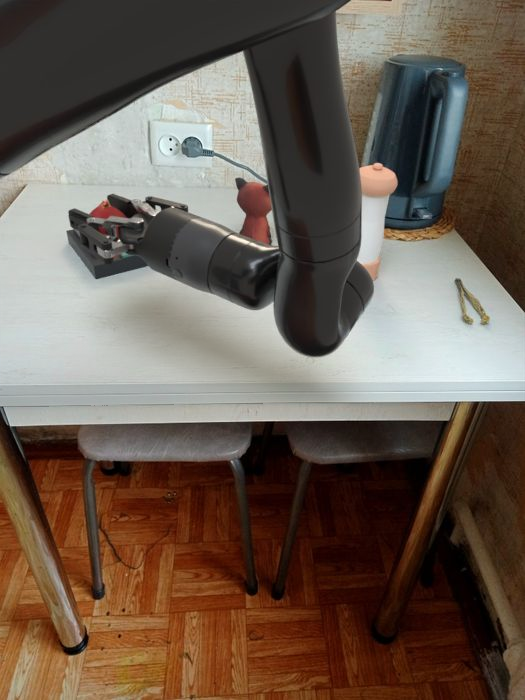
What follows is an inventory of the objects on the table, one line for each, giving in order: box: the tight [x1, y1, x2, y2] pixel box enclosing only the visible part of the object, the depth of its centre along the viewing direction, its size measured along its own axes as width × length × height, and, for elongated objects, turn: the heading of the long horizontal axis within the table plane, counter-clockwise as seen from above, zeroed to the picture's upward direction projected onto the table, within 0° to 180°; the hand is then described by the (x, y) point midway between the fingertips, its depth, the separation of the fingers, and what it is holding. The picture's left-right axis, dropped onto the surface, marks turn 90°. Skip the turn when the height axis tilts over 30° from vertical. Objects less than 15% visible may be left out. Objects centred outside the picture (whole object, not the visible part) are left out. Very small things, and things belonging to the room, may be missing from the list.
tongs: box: [454, 277, 491, 325], centre depth 84 cm, size 4×13×2 cm, turn 2°
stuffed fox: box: [234, 177, 273, 245], centre depth 90 cm, size 8×11×12 cm
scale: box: [66, 228, 149, 280], centre depth 90 cm, size 16×14×3 cm
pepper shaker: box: [357, 162, 399, 281], centre depth 84 cm, size 7×7×19 cm
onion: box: [89, 199, 127, 259], centre depth 63 cm, size 6×6×8 cm
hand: (91, 209), depth 63 cm, fingers closed on onion, 5 cm apart
